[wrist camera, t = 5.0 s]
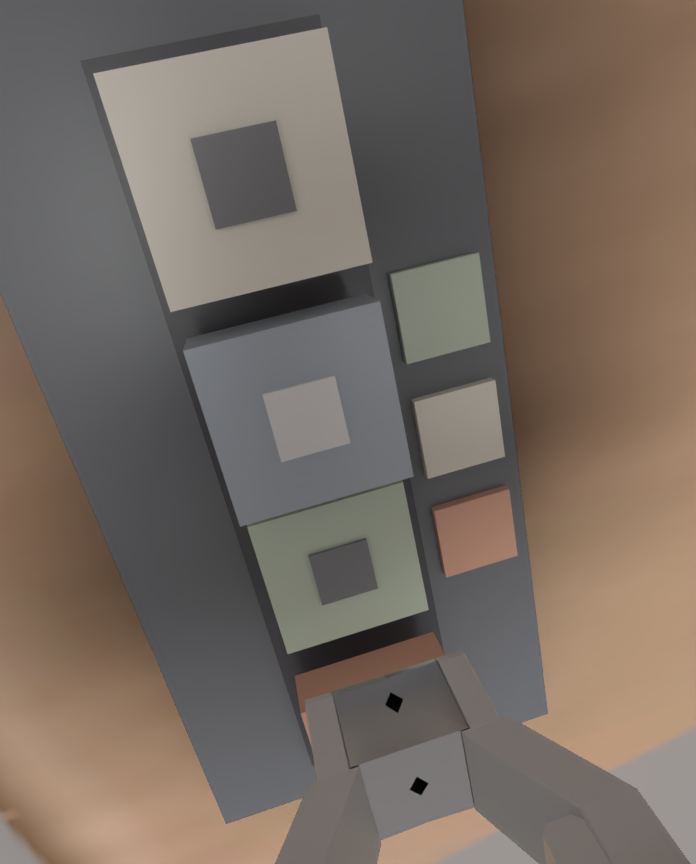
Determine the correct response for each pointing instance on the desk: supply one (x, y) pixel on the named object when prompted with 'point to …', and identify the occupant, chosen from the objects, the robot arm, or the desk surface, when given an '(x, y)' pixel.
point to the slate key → (301, 406)
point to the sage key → (340, 566)
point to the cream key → (239, 166)
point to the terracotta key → (365, 668)
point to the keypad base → (167, 331)
